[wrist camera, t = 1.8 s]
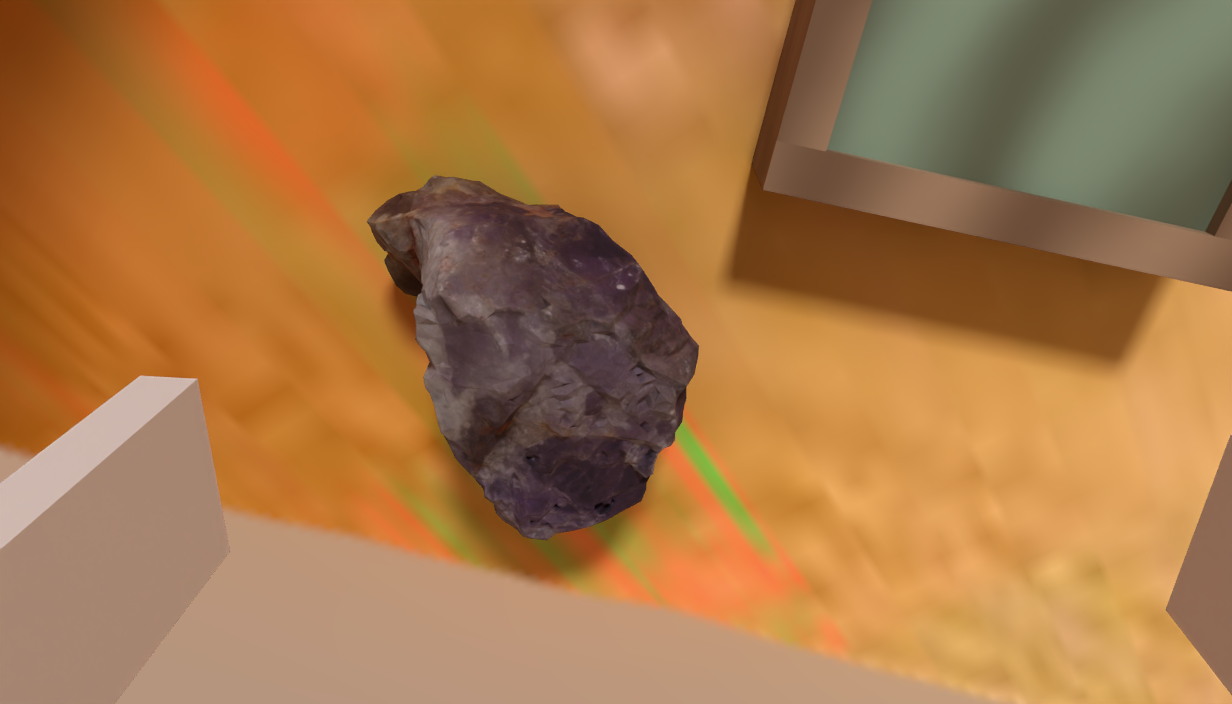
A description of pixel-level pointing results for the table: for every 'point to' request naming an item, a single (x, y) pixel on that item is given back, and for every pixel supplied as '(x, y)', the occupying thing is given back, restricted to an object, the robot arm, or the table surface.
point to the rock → (538, 351)
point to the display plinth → (1017, 123)
